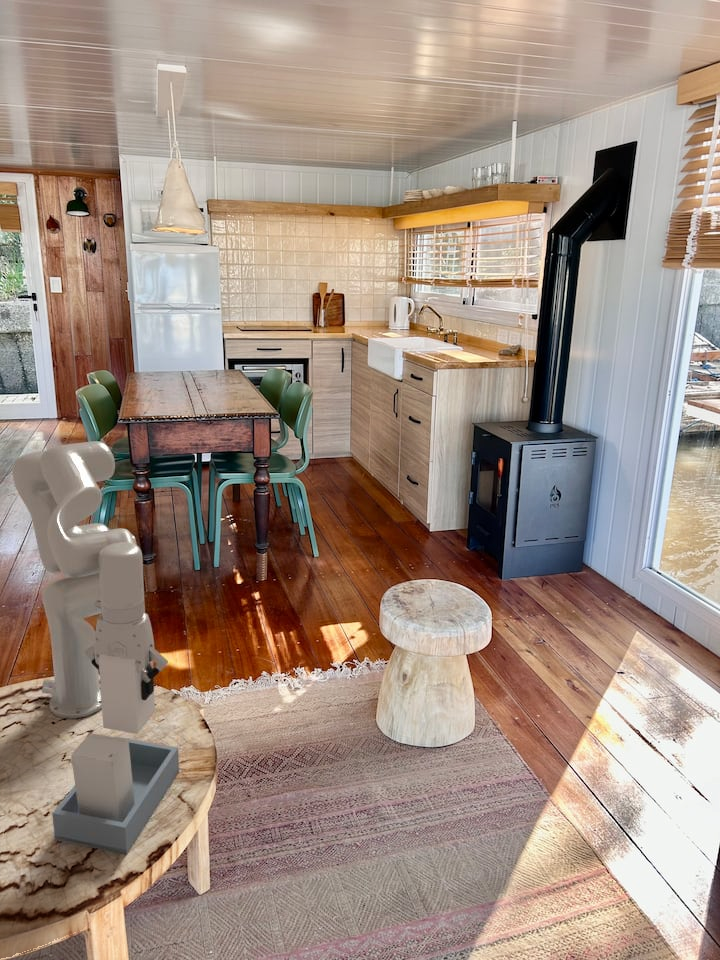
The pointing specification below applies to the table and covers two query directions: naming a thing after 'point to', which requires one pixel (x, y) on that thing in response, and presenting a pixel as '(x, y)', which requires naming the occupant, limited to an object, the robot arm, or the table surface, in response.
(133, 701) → the milk carton
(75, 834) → the tote
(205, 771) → the table surface
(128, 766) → the skincare box
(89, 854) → the table surface
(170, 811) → the table surface
